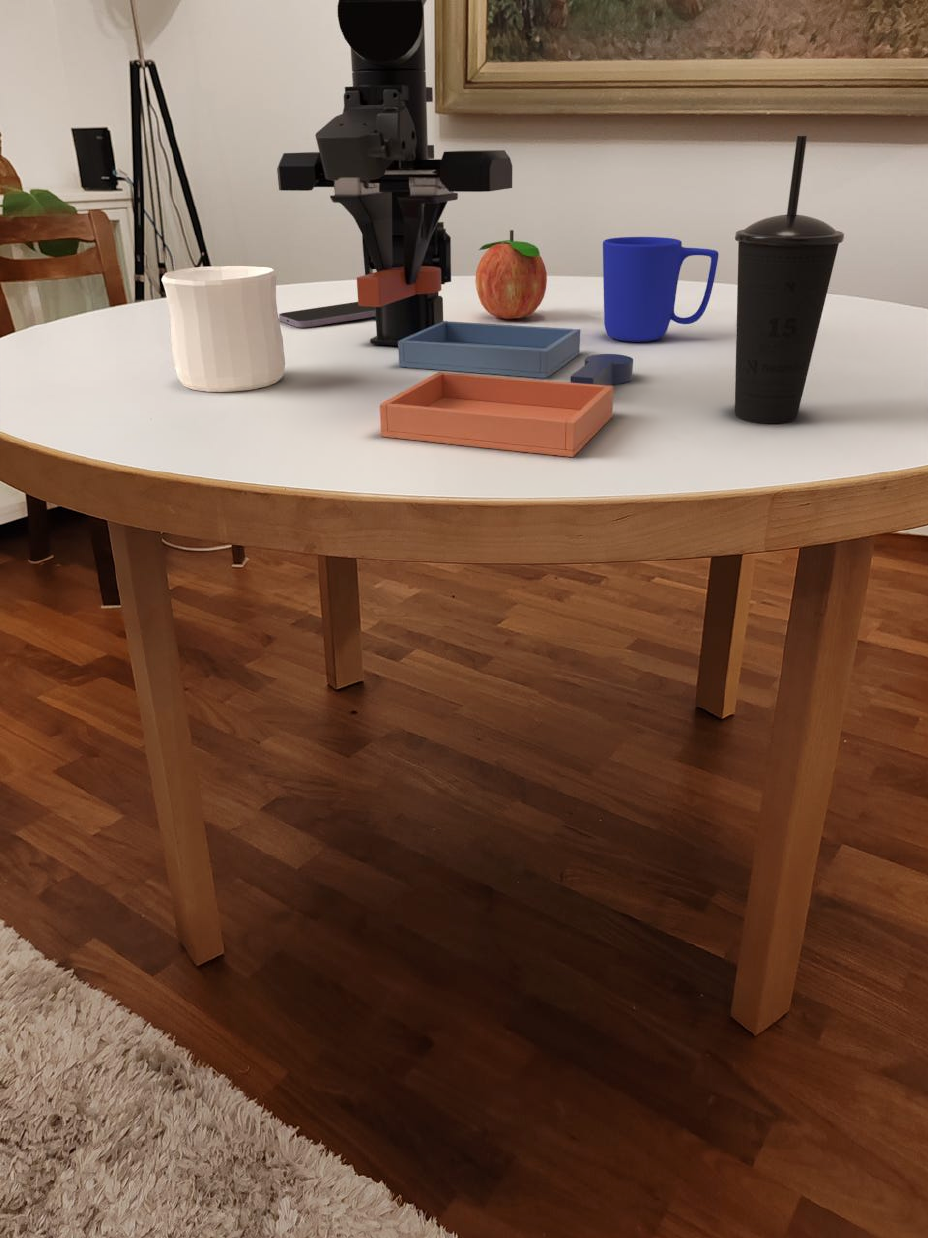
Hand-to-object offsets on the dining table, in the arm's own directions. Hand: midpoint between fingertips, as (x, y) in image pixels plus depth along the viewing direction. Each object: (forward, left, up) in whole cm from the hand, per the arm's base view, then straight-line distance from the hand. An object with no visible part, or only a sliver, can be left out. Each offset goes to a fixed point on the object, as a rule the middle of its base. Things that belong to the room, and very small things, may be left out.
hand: (398, 283), depth 81 cm
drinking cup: (+31, +2, -9) cm, 33 cm away
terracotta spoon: (0, +1, -1) cm, 1 cm away
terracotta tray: (+12, -8, -9) cm, 17 cm away
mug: (+16, +30, -9) cm, 36 cm away
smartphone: (-23, +31, -9) cm, 40 cm away
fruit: (-3, +37, -9) cm, 39 cm away
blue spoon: (+16, +7, -9) cm, 20 cm away
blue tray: (+3, +14, -9) cm, 17 cm away
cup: (-17, -2, -9) cm, 19 cm away
